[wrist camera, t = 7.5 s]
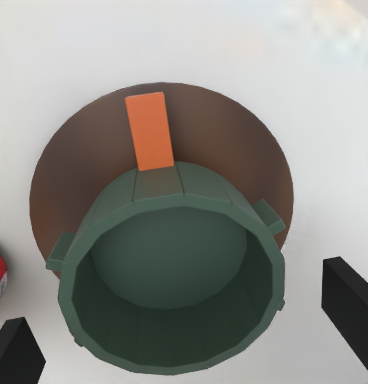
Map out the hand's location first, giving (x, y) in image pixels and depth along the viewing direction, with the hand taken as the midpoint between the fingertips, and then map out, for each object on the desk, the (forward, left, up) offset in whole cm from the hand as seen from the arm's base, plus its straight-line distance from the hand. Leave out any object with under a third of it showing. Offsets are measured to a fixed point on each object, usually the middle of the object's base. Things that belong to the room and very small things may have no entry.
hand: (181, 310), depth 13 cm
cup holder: (+1, -1, -5) cm, 6 cm away
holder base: (0, 0, -9) cm, 9 cm away
